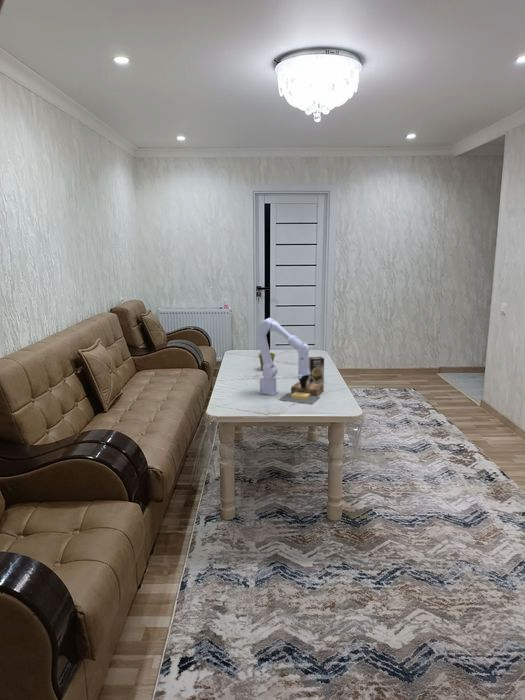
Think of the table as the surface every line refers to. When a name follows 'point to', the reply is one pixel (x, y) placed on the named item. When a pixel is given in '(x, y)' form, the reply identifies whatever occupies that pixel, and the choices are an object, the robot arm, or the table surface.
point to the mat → (309, 400)
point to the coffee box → (316, 370)
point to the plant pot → (262, 359)
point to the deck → (308, 388)
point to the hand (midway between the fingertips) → (303, 387)
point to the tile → (300, 395)
